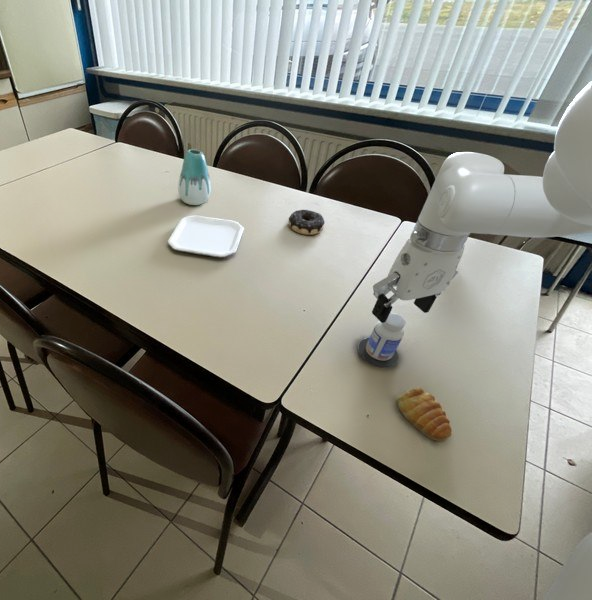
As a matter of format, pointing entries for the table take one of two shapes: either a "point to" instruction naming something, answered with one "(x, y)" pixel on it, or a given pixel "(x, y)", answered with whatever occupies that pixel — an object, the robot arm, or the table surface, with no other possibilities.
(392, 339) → the pill bottle
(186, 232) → the plate
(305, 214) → the donut
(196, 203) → the vase
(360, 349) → the coaster
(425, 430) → the pastry
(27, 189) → the table surface
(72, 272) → the table surface
